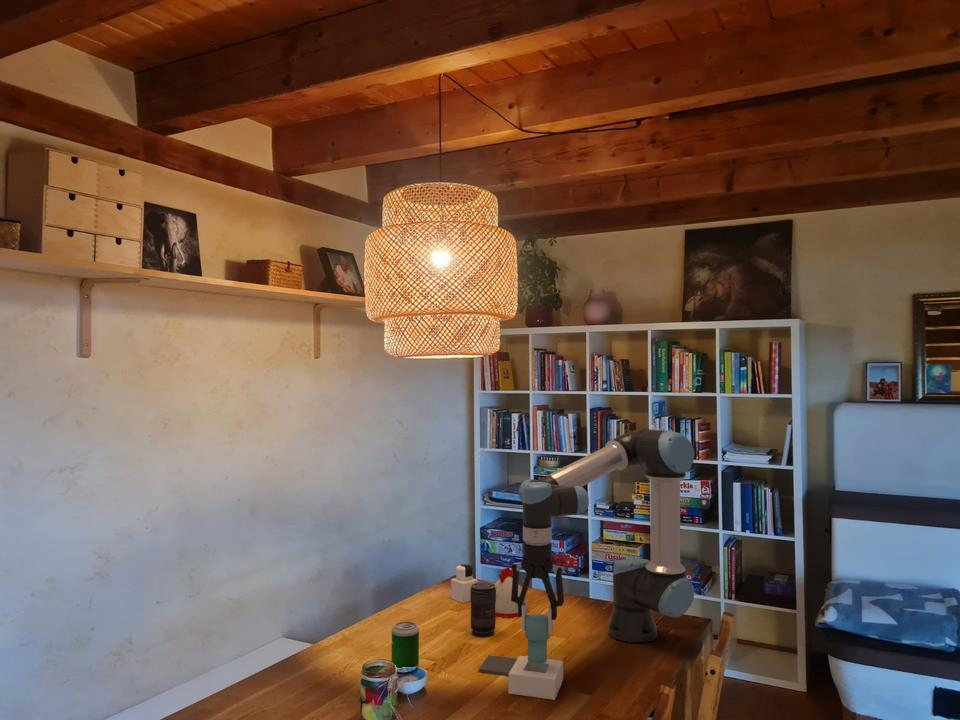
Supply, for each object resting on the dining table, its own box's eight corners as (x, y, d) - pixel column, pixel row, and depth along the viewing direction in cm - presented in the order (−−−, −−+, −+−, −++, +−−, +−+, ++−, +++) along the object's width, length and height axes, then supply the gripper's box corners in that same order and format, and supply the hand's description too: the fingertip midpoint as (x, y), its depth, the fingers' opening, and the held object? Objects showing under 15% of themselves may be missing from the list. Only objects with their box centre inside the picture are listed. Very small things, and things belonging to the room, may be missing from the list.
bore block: (563, 679, 188) (563, 661, 188) (554, 699, 176) (554, 679, 176) (519, 674, 191) (519, 655, 191) (508, 693, 180) (508, 673, 180)
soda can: (424, 668, 195) (424, 624, 195) (404, 677, 189) (404, 632, 189) (406, 661, 200) (406, 618, 200) (385, 669, 194) (386, 625, 194)
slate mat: (522, 662, 199) (522, 659, 199) (514, 676, 190) (514, 673, 190) (488, 657, 202) (488, 655, 202) (478, 672, 193) (478, 669, 193)
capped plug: (551, 657, 186) (551, 615, 187) (546, 666, 180) (546, 622, 181) (528, 654, 188) (528, 612, 189) (522, 663, 182) (522, 619, 183)
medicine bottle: (465, 594, 260) (465, 561, 260) (478, 599, 254) (478, 566, 255) (450, 598, 255) (450, 565, 255) (462, 603, 250) (462, 569, 250)
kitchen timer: (478, 612, 241) (478, 568, 241) (501, 602, 252) (502, 560, 252) (512, 621, 232) (512, 575, 232) (534, 610, 243) (534, 566, 243)
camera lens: (496, 629, 225) (497, 581, 225) (494, 638, 217) (495, 589, 217) (471, 628, 226) (471, 581, 226) (468, 637, 218) (469, 588, 218)
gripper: (498, 542, 184) (498, 631, 184) (571, 548, 179) (571, 639, 178) (505, 536, 191) (505, 621, 191) (576, 541, 186) (576, 629, 186)
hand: (537, 630), depth 185 cm, fingers closed on capped plug, 6 cm apart
